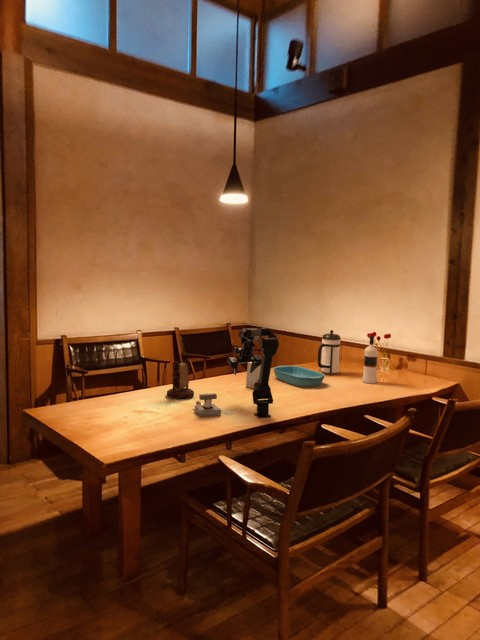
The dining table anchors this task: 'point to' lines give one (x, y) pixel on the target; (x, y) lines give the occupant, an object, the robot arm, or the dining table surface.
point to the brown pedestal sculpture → (178, 385)
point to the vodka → (370, 363)
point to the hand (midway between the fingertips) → (242, 373)
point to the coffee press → (329, 353)
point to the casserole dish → (298, 376)
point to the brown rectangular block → (207, 399)
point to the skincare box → (252, 375)
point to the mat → (227, 412)
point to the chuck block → (206, 410)
